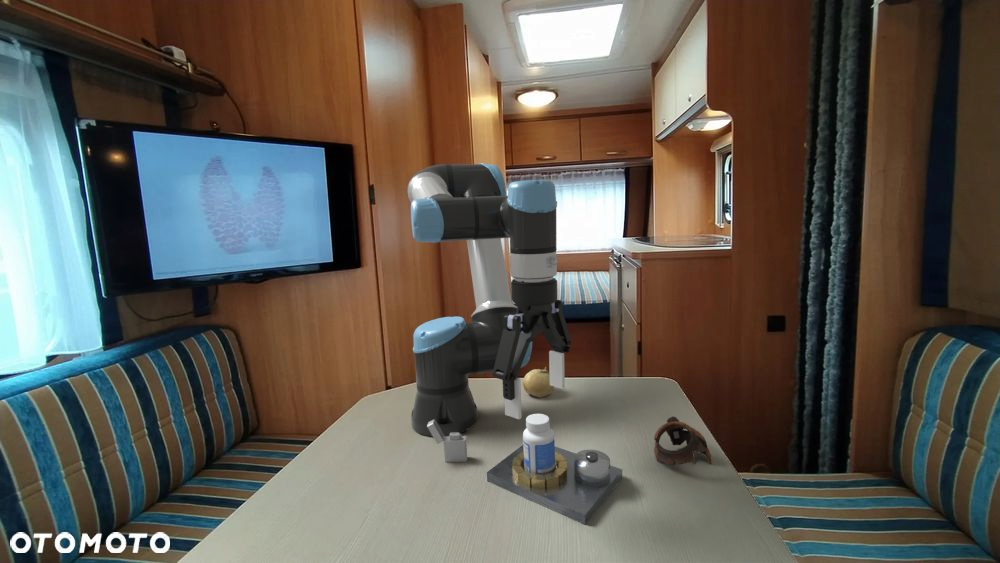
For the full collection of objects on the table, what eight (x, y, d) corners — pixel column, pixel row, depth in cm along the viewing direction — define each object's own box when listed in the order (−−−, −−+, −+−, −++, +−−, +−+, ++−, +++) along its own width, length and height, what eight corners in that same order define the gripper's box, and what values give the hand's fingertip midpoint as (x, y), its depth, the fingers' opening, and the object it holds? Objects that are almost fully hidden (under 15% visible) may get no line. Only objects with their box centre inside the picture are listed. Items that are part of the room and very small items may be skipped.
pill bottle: (559, 466, 77) (558, 414, 75) (549, 483, 72) (547, 429, 70) (531, 459, 79) (529, 409, 78) (519, 475, 74) (517, 422, 73)
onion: (532, 403, 106) (531, 375, 105) (517, 391, 114) (517, 366, 112) (560, 396, 110) (559, 369, 109) (544, 385, 117) (543, 360, 116)
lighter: (467, 456, 84) (465, 417, 83) (466, 461, 82) (464, 422, 81) (431, 457, 84) (428, 419, 83) (429, 462, 82) (426, 423, 81)
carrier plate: (487, 480, 76) (485, 452, 75) (531, 445, 87) (530, 420, 86) (585, 524, 64) (584, 491, 64) (622, 477, 75) (622, 449, 74)
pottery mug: (725, 476, 75) (709, 445, 72) (673, 495, 77) (656, 465, 74) (696, 427, 86) (682, 398, 83) (652, 445, 88) (636, 417, 85)
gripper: (505, 294, 58) (511, 439, 62) (589, 268, 77) (589, 380, 81) (464, 289, 63) (471, 424, 67) (553, 266, 82) (555, 371, 86)
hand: (536, 400), depth 74 cm, fingers open, 13 cm apart
